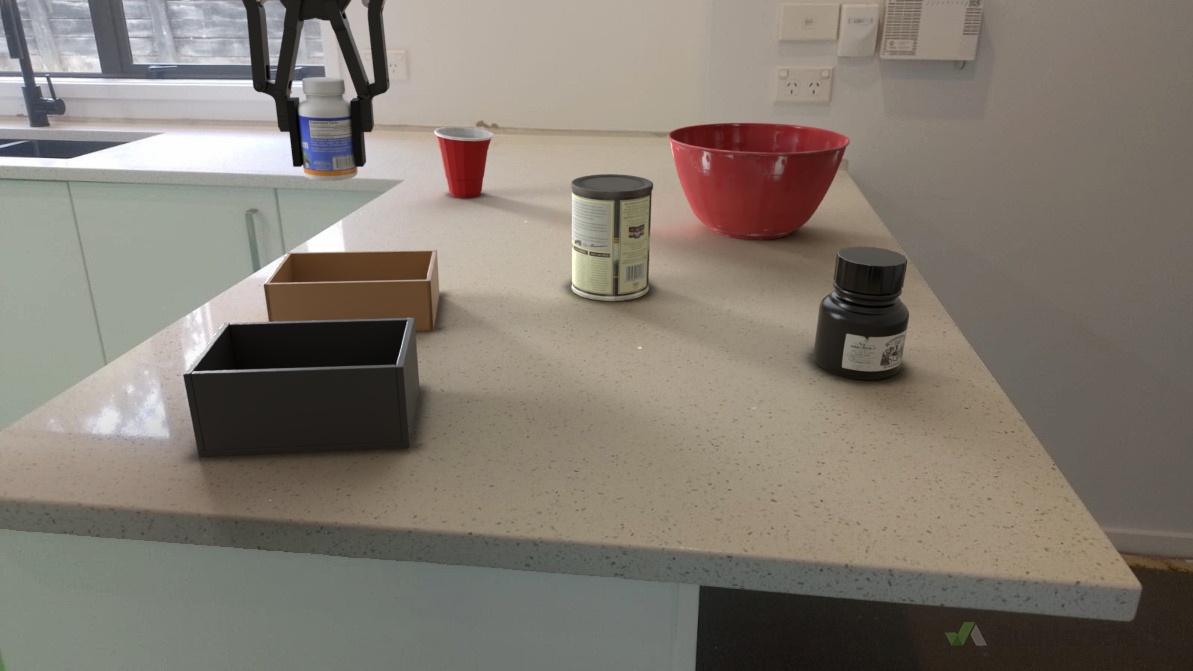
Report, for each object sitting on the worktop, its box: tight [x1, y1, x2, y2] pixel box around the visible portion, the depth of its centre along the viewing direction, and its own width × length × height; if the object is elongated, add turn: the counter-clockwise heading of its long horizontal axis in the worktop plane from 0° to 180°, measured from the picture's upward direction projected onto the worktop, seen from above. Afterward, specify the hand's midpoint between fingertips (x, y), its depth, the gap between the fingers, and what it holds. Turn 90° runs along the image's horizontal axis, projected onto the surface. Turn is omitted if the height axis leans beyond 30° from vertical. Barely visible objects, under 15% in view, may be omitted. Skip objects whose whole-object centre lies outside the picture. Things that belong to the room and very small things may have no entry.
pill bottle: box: [297, 76, 359, 182], centre depth 85 cm, size 5×5×10 cm
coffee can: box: [570, 173, 654, 302], centre depth 108 cm, size 10×10×14 cm
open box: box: [182, 318, 421, 458], centre depth 74 cm, size 17×11×8 cm, turn 97°
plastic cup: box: [433, 126, 495, 199], centre depth 156 cm, size 11×11×12 cm
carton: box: [263, 249, 440, 332], centre depth 99 cm, size 18×12×6 cm, turn 97°
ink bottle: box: [813, 245, 910, 381], centre depth 87 cm, size 10×9×12 cm
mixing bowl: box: [667, 122, 851, 241], centre depth 136 cm, size 28×28×15 cm
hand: (330, 163), depth 86 cm, fingers closed on pill bottle, 5 cm apart
